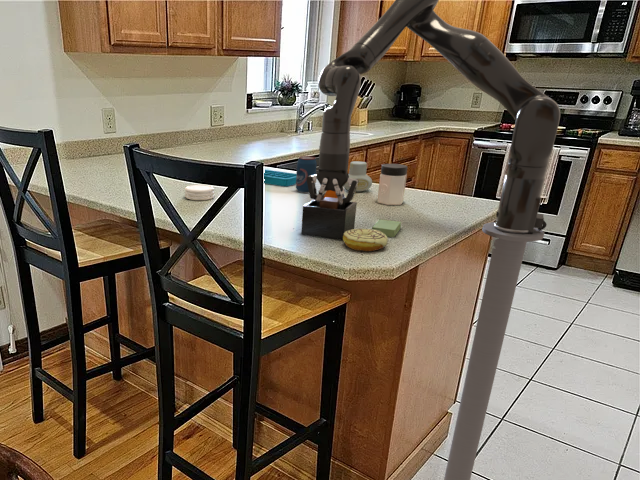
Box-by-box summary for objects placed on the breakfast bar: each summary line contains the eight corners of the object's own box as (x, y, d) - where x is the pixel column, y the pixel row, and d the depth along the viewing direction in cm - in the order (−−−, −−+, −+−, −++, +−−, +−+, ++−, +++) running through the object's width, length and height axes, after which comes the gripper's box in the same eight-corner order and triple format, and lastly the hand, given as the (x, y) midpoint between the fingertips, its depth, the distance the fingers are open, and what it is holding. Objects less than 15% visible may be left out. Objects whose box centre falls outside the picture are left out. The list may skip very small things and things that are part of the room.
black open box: (354, 230, 144) (356, 202, 141) (343, 240, 136) (346, 210, 133) (314, 224, 149) (315, 197, 146) (301, 234, 140) (302, 205, 137)
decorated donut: (393, 251, 128) (395, 236, 126) (352, 254, 126) (354, 239, 124) (375, 238, 137) (376, 225, 135) (336, 241, 135) (337, 227, 133)
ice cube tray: (286, 187, 195) (287, 179, 194) (244, 180, 207) (244, 172, 206) (303, 182, 204) (303, 174, 203) (261, 176, 215) (261, 168, 214)
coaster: (216, 200, 176) (216, 189, 175) (187, 201, 174) (187, 191, 173) (211, 193, 185) (210, 183, 184) (183, 195, 183) (182, 184, 182)
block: (340, 215, 142) (341, 198, 140) (335, 219, 138) (336, 202, 136) (324, 213, 143) (325, 196, 142) (318, 217, 140) (319, 200, 138)
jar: (371, 201, 176) (375, 165, 171) (387, 198, 180) (391, 162, 175) (392, 206, 169) (397, 169, 164) (408, 203, 173) (414, 166, 168)
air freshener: (367, 188, 195) (370, 160, 191) (373, 192, 188) (376, 164, 184) (338, 188, 195) (341, 160, 191) (343, 192, 187) (346, 164, 183)
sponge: (378, 226, 148) (379, 219, 148) (400, 228, 146) (401, 221, 145) (371, 234, 141) (372, 227, 140) (393, 237, 139) (394, 230, 138)
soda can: (291, 191, 190) (293, 157, 185) (304, 188, 194) (306, 155, 189) (306, 194, 185) (308, 159, 180) (318, 191, 189) (321, 157, 184)
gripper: (365, 150, 134) (359, 216, 141) (312, 147, 140) (309, 210, 147) (358, 154, 128) (352, 222, 135) (302, 150, 133) (299, 216, 140)
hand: (329, 215), depth 141 cm, fingers closed on block, 4 cm apart
